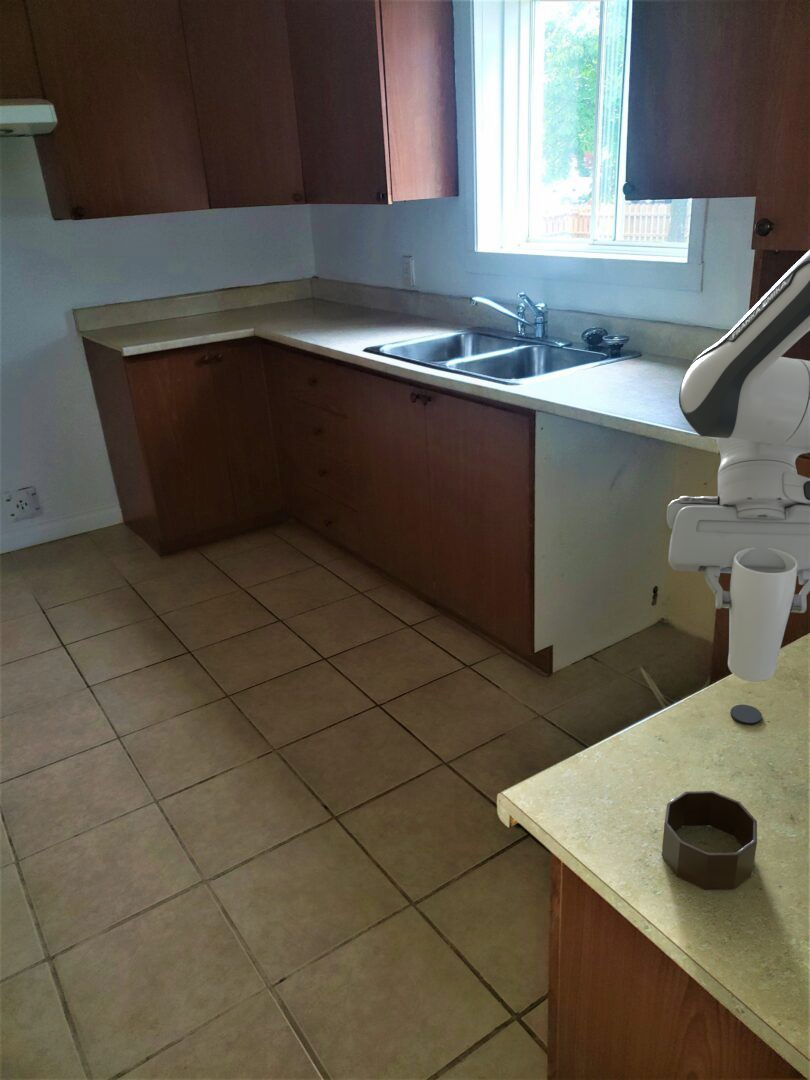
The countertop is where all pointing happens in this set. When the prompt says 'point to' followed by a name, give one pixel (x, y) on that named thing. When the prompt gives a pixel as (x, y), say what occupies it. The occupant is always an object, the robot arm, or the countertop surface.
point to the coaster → (746, 714)
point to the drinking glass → (759, 616)
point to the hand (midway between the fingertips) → (760, 609)
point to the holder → (697, 863)
